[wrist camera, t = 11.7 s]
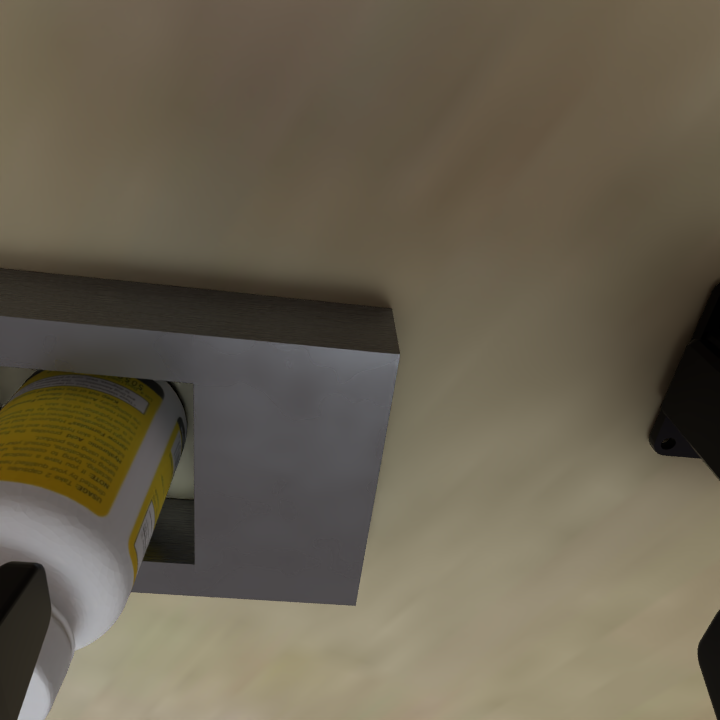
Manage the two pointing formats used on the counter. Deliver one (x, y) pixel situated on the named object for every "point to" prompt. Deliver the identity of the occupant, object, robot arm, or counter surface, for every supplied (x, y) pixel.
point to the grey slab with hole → (236, 422)
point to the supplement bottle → (83, 500)
